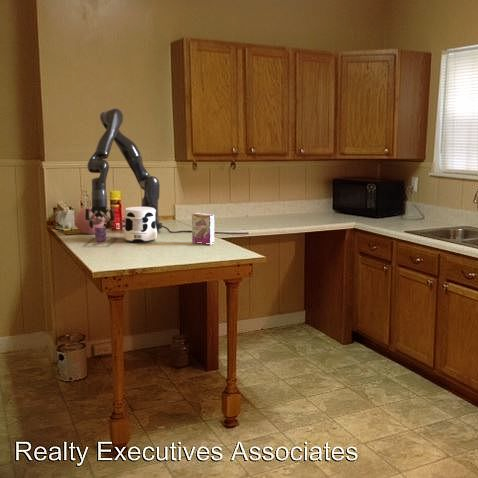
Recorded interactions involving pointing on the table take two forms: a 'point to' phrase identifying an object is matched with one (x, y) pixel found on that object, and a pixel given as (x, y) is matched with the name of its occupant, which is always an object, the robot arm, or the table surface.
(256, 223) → the table surface
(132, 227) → the white black spotted canister
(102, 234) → the purple stepped cylinder
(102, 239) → the dish bottom
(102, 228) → the dish top
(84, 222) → the pink piggy bank
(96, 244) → the brown board with circles
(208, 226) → the candy bar box
